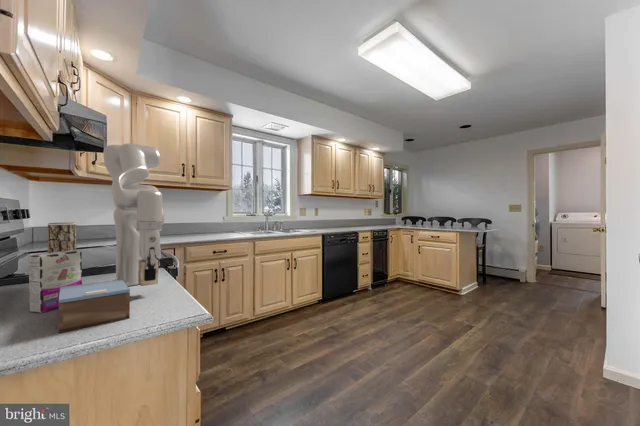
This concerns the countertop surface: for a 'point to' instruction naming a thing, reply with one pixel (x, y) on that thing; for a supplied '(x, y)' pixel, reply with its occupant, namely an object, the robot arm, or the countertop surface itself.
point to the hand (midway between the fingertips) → (148, 277)
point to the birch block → (142, 270)
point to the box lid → (92, 290)
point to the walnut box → (93, 311)
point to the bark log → (61, 237)
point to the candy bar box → (52, 277)
